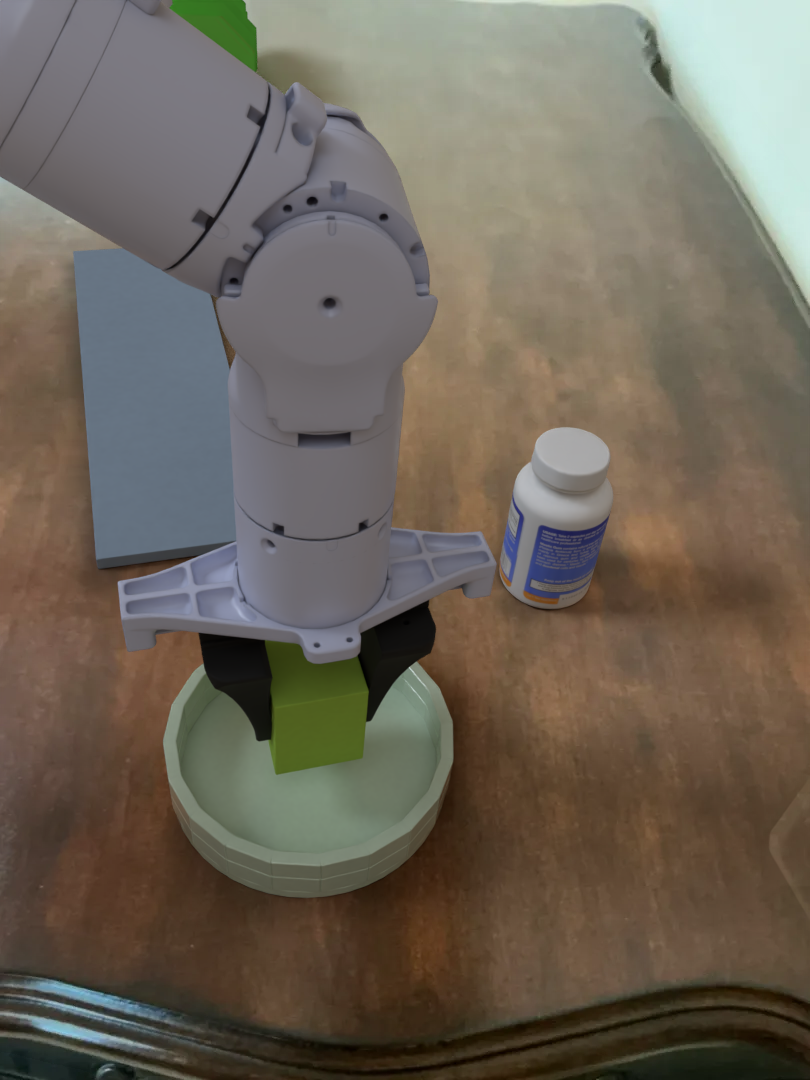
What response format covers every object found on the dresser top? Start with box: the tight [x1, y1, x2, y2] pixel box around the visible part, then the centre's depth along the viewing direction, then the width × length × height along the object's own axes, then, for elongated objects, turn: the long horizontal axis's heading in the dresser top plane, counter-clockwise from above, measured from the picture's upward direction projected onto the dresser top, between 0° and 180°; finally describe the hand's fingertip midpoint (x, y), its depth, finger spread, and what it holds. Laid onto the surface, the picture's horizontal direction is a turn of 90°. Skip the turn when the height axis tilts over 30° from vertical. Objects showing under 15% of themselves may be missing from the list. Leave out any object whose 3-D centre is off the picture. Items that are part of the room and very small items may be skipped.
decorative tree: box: [168, 0, 259, 73], centre depth 104 cm, size 11×12×30 cm
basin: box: [162, 661, 454, 899], centre depth 46 cm, size 13×13×3 cm
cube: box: [265, 640, 369, 775], centre depth 43 cm, size 4×4×5 cm
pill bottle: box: [498, 426, 614, 610], centre depth 54 cm, size 5×5×10 cm
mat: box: [72, 247, 236, 570], centre depth 68 cm, size 36×10×1 cm, turn 16°
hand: (310, 713), depth 44 cm, fingers closed on cube, 4 cm apart
